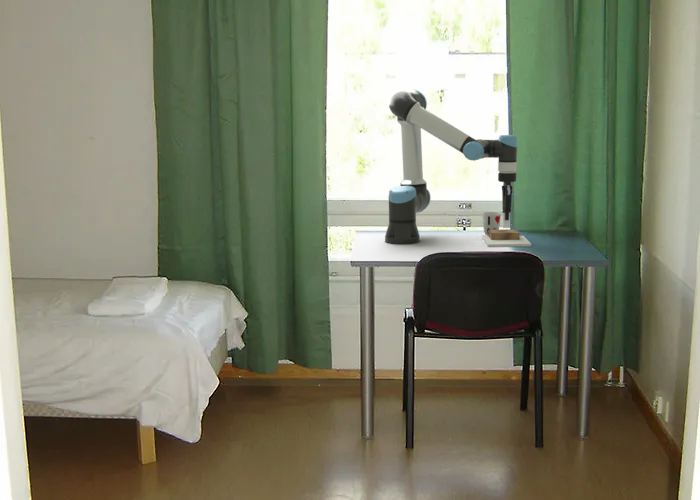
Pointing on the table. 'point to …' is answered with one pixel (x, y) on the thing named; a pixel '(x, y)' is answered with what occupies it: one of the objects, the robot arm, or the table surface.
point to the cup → (491, 221)
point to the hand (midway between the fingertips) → (506, 227)
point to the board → (504, 234)
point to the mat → (506, 242)
